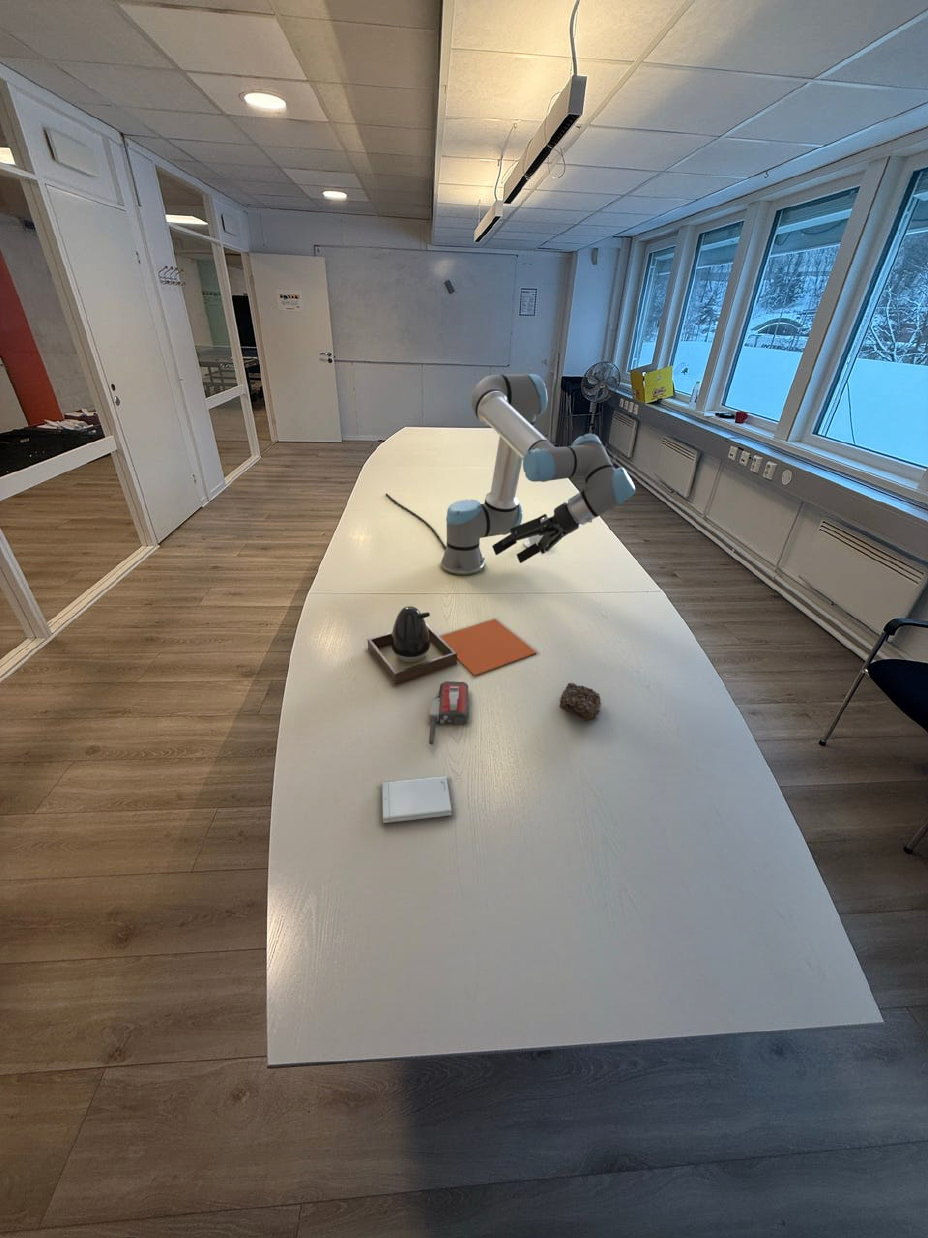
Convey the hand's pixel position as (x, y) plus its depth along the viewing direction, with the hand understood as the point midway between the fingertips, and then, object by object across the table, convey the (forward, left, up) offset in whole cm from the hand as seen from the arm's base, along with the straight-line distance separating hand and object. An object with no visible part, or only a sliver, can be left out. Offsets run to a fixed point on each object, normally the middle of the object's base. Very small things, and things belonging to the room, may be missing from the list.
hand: (506, 554), depth 137 cm
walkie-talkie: (+27, -34, -22) cm, 49 cm away
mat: (+7, -11, -22) cm, 26 cm away
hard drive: (+44, -51, -22) cm, 71 cm away
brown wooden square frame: (+2, -31, -22) cm, 38 cm away
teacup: (-41, +46, -22) cm, 66 cm away
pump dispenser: (+2, -31, -22) cm, 38 cm away
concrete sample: (+40, -6, -22) cm, 46 cm away
